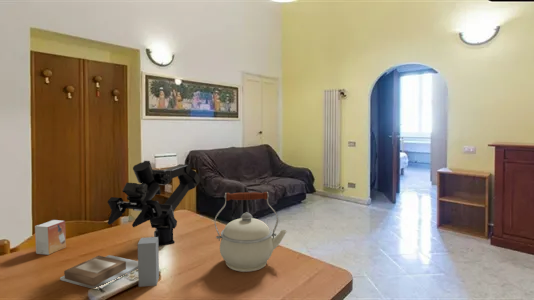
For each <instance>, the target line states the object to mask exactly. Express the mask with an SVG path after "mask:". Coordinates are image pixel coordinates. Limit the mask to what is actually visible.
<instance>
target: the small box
mask: <svg viewBox="0 0 534 300" xmlns="http://www.w3.org/2000/svg"><path fill="white" fill-rule="evenodd" d="M34 233H35V234H34V235H35V254H37V255H46V256H49V255H52V254H54V253H56V252H58V251H61V250H63V249H64V248H67V243H66V242H67V241H66V239H67V237H66V220H58V219H51V220H49V221H47V222H43V223H41V224H37V225H35V226H34Z"/></svg>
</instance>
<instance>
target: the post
mask: <svg viewBox="0 0 534 300" xmlns="http://www.w3.org/2000/svg"><path fill="white" fill-rule="evenodd" d="M159 255H160V254H159V246H158V237H154V236H151V237H150V236H149V237H141V238H140V239H139V241H138V243H137V261H138V269H137V271H138V273H137V275H138V287H139V288H140V287H154V286H157V285H158V281H159V278H160V269H159V268H160V265H159V264H160V262H159V260H160V259H159V258H160V257H159Z"/></svg>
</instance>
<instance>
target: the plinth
mask: <svg viewBox="0 0 534 300" xmlns="http://www.w3.org/2000/svg"><path fill="white" fill-rule="evenodd" d="M136 270H138V260H134V259H130V258H124V257H120V256H116V255H115V256H114V255H112V254H111V255H110V254H109V255H106V256H102V255H96V256H94V257H92V258H90V259H87V260H85V261H83V262H81V263H79V264H77V265H74V266H72V267H70V268H68V269H65V270H64V275H63V276H61V277H59V279H60V281H63V282H67V283H70V284H73V285H78V286H81V287H85V288H89V289H92V288H96V287H99V286H101V285H104V284H106V283H108V282H110V281H112V280H115V279H117V278H118V277H121V276H123V275H125V274H126V273H129V272H131V271H133V272H134V271H136ZM131 273H132V272H131ZM129 274H130V273H129ZM125 276H126V275H125ZM92 290H93V289H92Z"/></svg>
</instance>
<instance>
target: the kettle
mask: <svg viewBox="0 0 534 300" xmlns="http://www.w3.org/2000/svg"><path fill="white" fill-rule="evenodd" d="M269 197H270V195H269V192H268V191H264V192H253V191H251V192H249V191H248V192H235V193H230V192H225V195H224V197H223V198H224V200H225V201H224V204H223V206H222V207H221V209H219V211H218V212H217V213H216V215H215V216H214V227H215V229H216V232H217V234H218V235H217V236H216V237H215V239H218V242H220V244H219V253H220V256H221V257H222V259H223V260H224V261H225V264H226V266H227V267H228V268H229V269H230V270H232V271H237V272H239V273H240V272H242V273H248V272H249V273H250V272H255V271H258V270H261V269H264V267H266V265H267V263H268V260H270V258H271V256H272V254H273V252H274V250H275V249H276V248H277V247H278V246H279V245H280V243H281V242H282V240H283V238H284V237H285V234H287V232H288V231H287V229H281V230H279V233H278V234H277V233H275V232H276V230H277V227H278V223H279V217H278V214H277V211H276V210H275V209H274V208H273V207H272V206H271V205H270V203H269ZM261 199H263V200H266V203H267V205H268V206H269V208H270V209H271V210H272V211H273V212H274V214H275V216H276V222H275V225H274V228H273V230H271V228H269V226H268V225H267V223H266V222H264V221H263V220H260V219H257V218H254V217H253V215H252V214H251V213H249V212H247V211H246V212H244V213H243V214H242V215H241V216H240V218H237V219H233V220H231V221H230V222H228V223H227V224H226V225H225V227H224V229H222V230H221V231H220V232H219V230H218V227H217V223H216V220H217V217H219V215H220V213H221V212H222V211H223V210H224V208H225V207H226V205H227V202H228V201H231V200H233V201H250V200H252V201H255V200H256V201H257V200H261ZM220 239H221V241H220Z"/></svg>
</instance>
